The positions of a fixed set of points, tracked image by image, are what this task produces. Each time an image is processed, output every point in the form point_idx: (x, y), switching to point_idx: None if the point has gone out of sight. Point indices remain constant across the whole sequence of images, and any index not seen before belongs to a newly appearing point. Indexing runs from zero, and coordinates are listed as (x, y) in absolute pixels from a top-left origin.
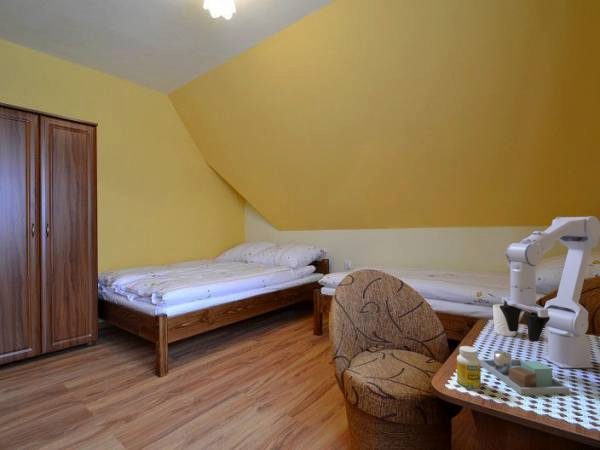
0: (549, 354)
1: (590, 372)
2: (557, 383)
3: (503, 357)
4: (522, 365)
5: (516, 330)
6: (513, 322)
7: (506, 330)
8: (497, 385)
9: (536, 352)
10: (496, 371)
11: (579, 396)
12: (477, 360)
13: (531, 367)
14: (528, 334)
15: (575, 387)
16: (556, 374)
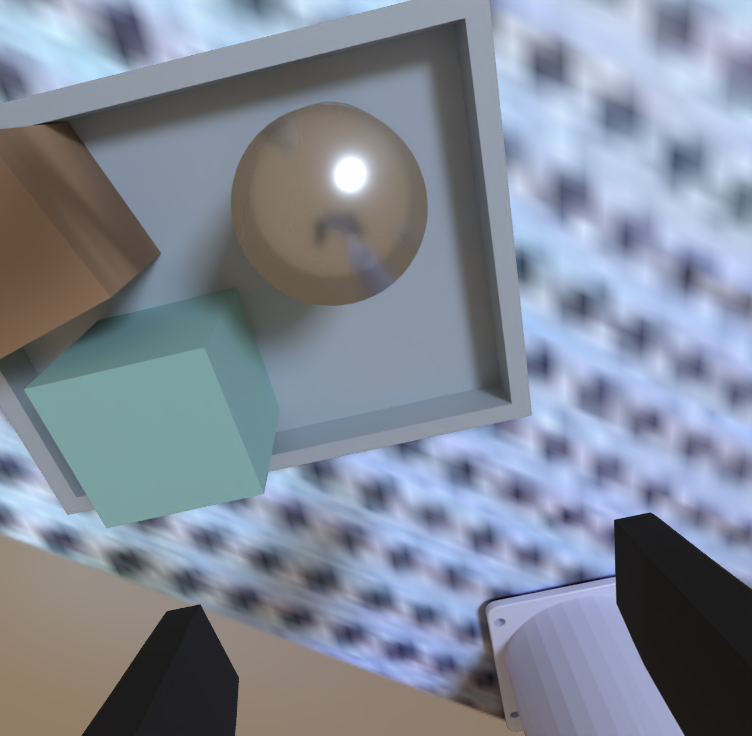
0: (614, 623)
1: (451, 688)
2: None
3: (234, 181)
4: (193, 336)
5: (622, 605)
6: (713, 709)
7: None
8: (62, 11)
9: (735, 575)
10: (191, 61)
11: None
12: None
13: (64, 378)
14: (146, 688)
15: (233, 554)
16: (399, 540)
